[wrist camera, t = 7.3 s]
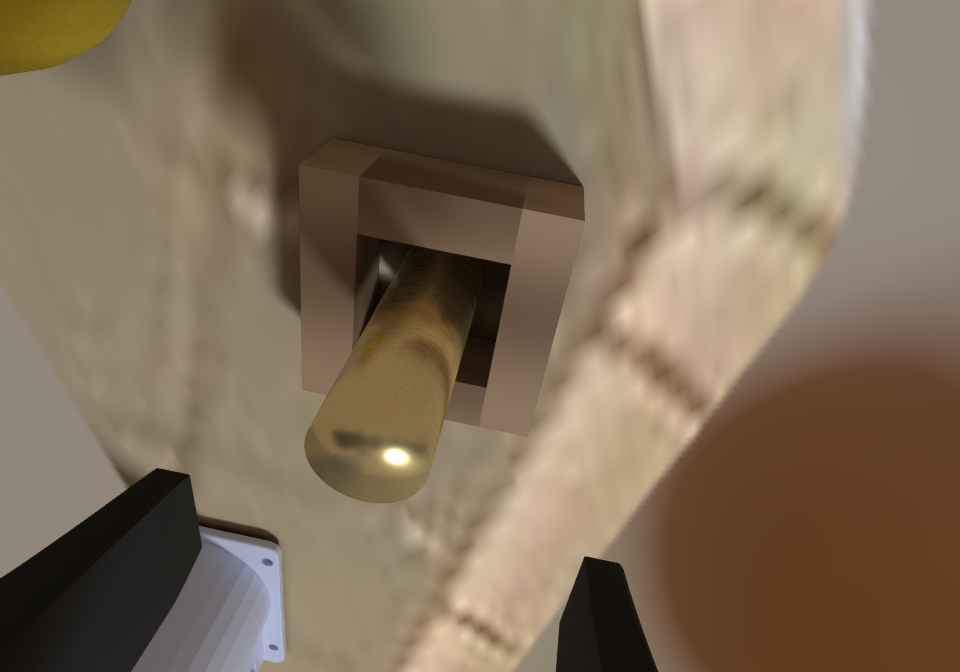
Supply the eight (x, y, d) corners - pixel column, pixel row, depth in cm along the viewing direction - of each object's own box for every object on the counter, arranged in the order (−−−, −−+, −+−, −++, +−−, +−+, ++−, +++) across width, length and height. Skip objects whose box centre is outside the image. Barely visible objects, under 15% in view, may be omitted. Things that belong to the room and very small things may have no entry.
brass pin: (476, 316, 19) (423, 514, 12) (399, 301, 19) (305, 489, 12) (488, 245, 18) (436, 423, 11) (405, 229, 18) (303, 396, 11)
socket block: (532, 386, 20) (527, 436, 18) (330, 345, 20) (302, 389, 18) (583, 186, 16) (584, 220, 14) (333, 138, 17) (298, 165, 14)
